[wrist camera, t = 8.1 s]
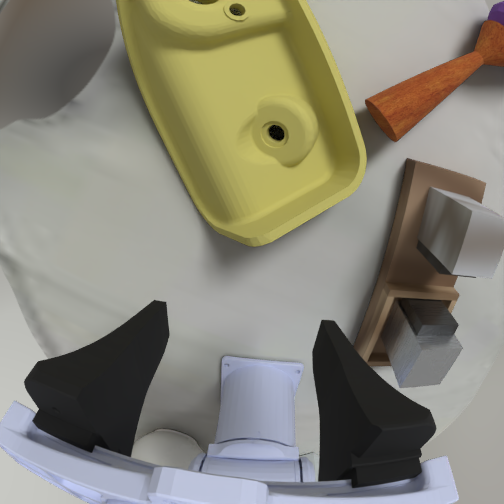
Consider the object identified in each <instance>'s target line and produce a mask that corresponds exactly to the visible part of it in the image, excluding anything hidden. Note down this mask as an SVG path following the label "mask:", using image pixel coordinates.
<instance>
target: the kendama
mask: <svg viewBox="0 0 504 504" xmlns="http://www.w3.org/2000/svg"><path fill="white" fill-rule="evenodd" d="M482 64H484V65H494V66H502V67H504V1H503V2H499V3H497V4H495V5H493V7H492V9H491V11H490V13H489V16H488V20H487V21H485V22H484V23H483V25H482V28H481V31H480V34H479V37H478V40H477V43H476V46H475V49H474V52H472V53H469V54H466V55H464V56H461V57H459V58H456V59H454V60H451V61H449V62H446V63H444V64H441V65H439V66H437V67H434V68H432V69H430V70H427V71H425V72H423V73H421V74H418V75H416V76H414V77H412V78H410V79H407V80H405V81H403V82H401V83H399V84H397V85H395V86H393V87H390V88H388V89H386V90H384V91H382V92H380V93H378V94H376V95H374V96H372V97H370V98H368V99H366V100H365V104H366V106H367V108H368V110H369V112H370V114H371V115H372V117H373V118H374V120H375V121H376V123H377V124H378V125H379V127H380V128H381V129H382V130H383V132H384V133H385V134H386V135H387V136H388V137H389V138H390V139H391V140H392V141H394V142H397V141H398V140H399V139H400V138H401V137H402V136H404V135H405V134H406V133H407V132H408V131H409V130H410V129H411V128H413V127H414V126H415V125H416V124H417V123H418V122H419V121H420V120H422V119H423V118H424V117H425V116H426V115H427V114H428V113H429V112H430V111H432V110H433V109H434V108H435V107H436V106H437V105H438V104H439V103H441V102H442V101H443V100H444V99H445V98H446V97H447V96H448V95H449V94H451V93H452V92H453V91H454V90H455V89H456V88H457V87H458V86H459V85H460V84H462V83H463V82H464V81H465V80H466V79H467V78H468V77H469V76H470V75H472V74H473V73H474V72H475V71H476V70H477V69H478V68H479V67H480V66H481V65H482Z"/></svg>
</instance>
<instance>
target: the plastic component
mask: <svg viewBox="0 0 504 504" xmlns="http://www.w3.org/2000/svg"><path fill="white" fill-rule="evenodd" d="M196 1H199V2H201V3H203V4H204V5H203V4H196V3H193V2H191V1H189V0H116V3H117V10H118V16H119V21H120V26H121V30H122V35H123V39H124V43H125V47H126V50H127V54H128V57H129V60H130V64H131V67H132V70H133V73H134V75H135V78H136V81H137V84H138V86H139V89H140V92H141V94H142V97H143V99H144V101H145V104H146V106H147V108H148V111H149V113H150V115H151V117H152V119H153V121H154V124H155V126H156V128H157V130H158V132H159V134H160V136H161V138H162V140H163V142H164V144H165V146H166V148H167V150H168V152H169V154H170V156H171V158H172V160H173V162H174V164H175V166H176V168H177V170H178V172H179V174H180V176H181V178H182V180H183V182H184V184H185V186H186V188H187V190H188V192H189V194H190V196H191V198H192V200H193V202H194V204H195V206H196V207H197V209H198V210H199V212H200V213H201V215H202V216H203V218H204V219H205V220H206V221H207V222H208V224H209V225H210V226H211V227H212V228H213V229H214V230H215V231H217V232H218V233H219V234H222V235H224V236H226V237H229V238H231V239H233V240H236V241H238V242H240V243H243V244H245V245H247V246H252V247H255V246H262V245H265V244H268V243H270V242H273V241H274V240H276V239H278V238H279V237H281V236H283V235H284V234H286V233H288V232H289V231H291V230H293V229H295V228H296V227H298V226H300V225H301V224H303V223H305V222H306V221H308V220H310V219H311V218H313V217H315V216H316V215H318V214H320V213H322V212H323V211H325V210H327V209H328V208H330V207H332V206H333V205H335V204H337V203H338V202H340V201H342V200H343V199H345V198H347V197H349V196H350V195H351V194H352V193H353V192H354V191H355V190H356V189H357V188H358V186H359V185H360V183H361V182H362V179H363V176H364V174H365V169H366V161H367V156H366V148H365V145H364V141H363V138H362V135H361V132H360V129H359V125H358V122H357V119H356V116H355V113H354V110H353V107H352V105H351V102H350V99H349V96H348V93H347V91H346V88H345V85H344V83H343V80H342V78H341V75H340V73H339V70H338V68H337V65H336V63H335V60H334V58H333V56H332V53H331V51H330V49H329V47H328V44H327V42H326V40H325V38H324V35H323V33H322V31H321V29H320V27H319V25H318V23H317V21H316V19H315V17H314V15H313V13H312V11H311V9H310V7H309V5H308V3H307V1H306V0H196ZM230 8H235V9H238V10H239V11H240V12H241V16H235V15H233V14H232V13H230V10H229V9H230ZM272 125H277V126H280V127H281V128H282V129H283V130H284V134H285V136H284V139H283V140H279V141H277V140H274V139H273V138H272V137H271V136H270V135H269V128H270V127H271V126H272Z"/></svg>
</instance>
